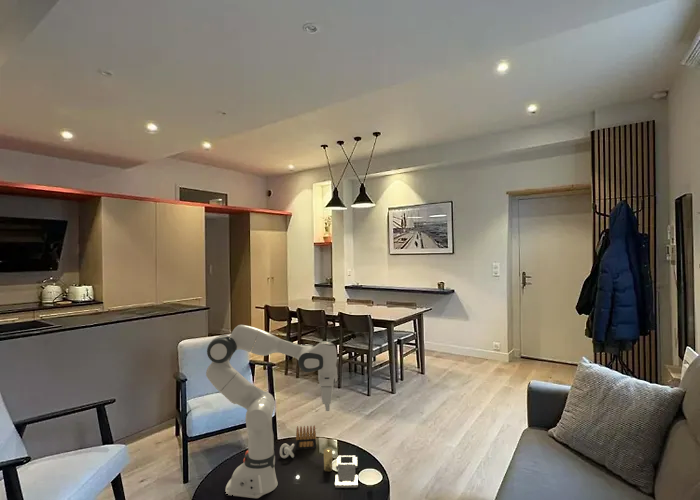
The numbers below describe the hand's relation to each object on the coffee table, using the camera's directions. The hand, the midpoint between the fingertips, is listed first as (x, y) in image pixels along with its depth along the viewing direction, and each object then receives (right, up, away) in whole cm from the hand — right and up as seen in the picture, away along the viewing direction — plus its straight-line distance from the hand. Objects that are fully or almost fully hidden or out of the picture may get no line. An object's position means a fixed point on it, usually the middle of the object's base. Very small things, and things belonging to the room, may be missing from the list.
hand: (328, 406), depth 185 cm
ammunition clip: (-13, -33, +26) cm, 44 cm away
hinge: (+9, -32, +2) cm, 33 cm away
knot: (-21, -33, +18) cm, 43 cm away
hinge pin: (0, -32, +5) cm, 33 cm away
